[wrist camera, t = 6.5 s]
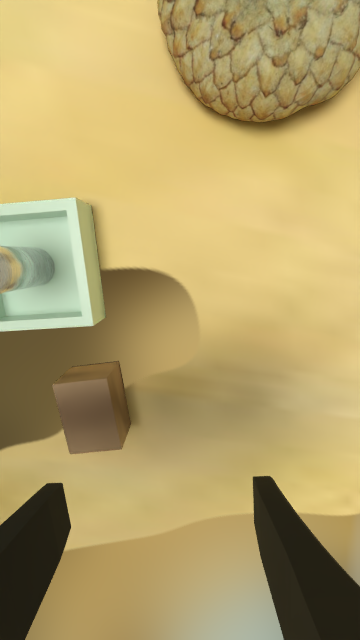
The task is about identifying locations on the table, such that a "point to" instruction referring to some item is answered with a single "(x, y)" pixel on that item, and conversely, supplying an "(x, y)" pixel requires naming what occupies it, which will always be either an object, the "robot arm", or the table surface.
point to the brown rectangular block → (93, 407)
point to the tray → (69, 259)
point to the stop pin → (24, 268)
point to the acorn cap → (263, 52)
